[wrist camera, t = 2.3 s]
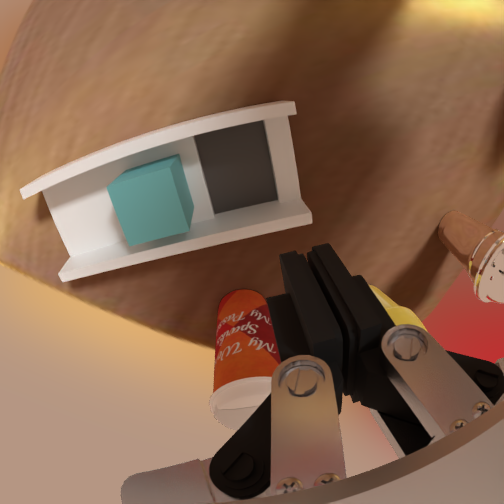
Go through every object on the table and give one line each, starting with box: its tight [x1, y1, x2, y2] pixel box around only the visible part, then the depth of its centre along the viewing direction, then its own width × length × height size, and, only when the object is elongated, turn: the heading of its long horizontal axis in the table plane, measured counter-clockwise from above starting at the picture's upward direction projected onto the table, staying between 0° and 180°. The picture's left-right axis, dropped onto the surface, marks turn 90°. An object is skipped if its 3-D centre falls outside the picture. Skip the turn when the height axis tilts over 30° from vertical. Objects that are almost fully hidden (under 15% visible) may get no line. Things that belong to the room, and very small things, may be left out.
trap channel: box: [20, 101, 313, 282], centre depth 24 cm, size 10×24×4 cm, turn 101°
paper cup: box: [209, 289, 281, 430], centre depth 28 cm, size 8×8×14 cm
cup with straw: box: [438, 210, 504, 304], centre depth 23 cm, size 8×9×20 cm
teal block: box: [106, 154, 194, 246], centre depth 23 cm, size 5×5×5 cm
